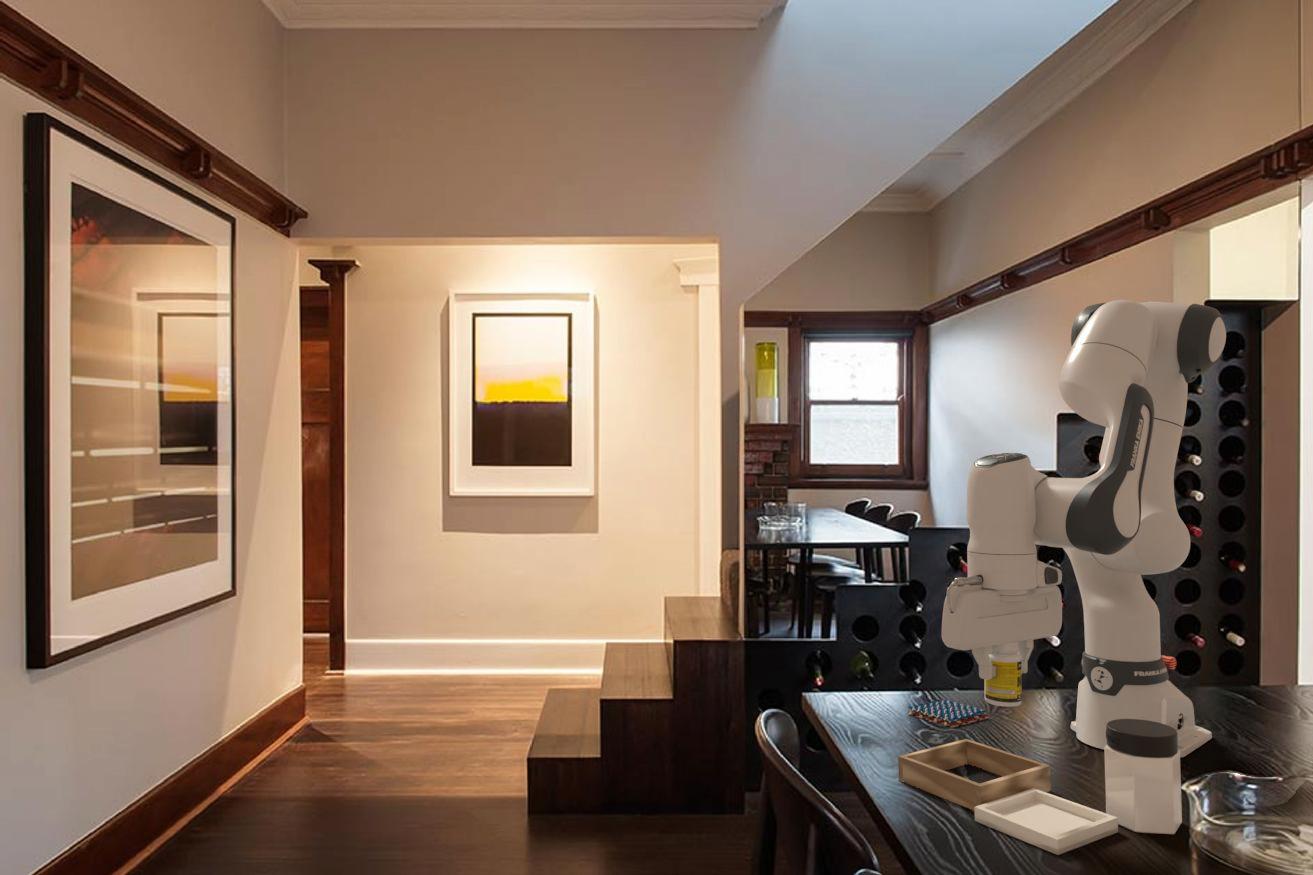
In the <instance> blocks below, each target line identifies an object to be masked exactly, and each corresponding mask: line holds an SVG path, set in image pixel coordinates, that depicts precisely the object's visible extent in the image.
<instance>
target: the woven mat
mask: <svg viewBox="0 0 1313 875" xmlns="http://www.w3.org/2000/svg"><path fill="white" fill-rule="evenodd" d="M908 709H910V710H908V712H907V714H908V715H909V716H911V717H912V716H913V717H914V716H915V717H916V718H919V719H921V720H923V719H924V720H925V721H928V722H930V723H932V722H933V723H935V724H939V725H943V726H945V727H949V728H956V727H960V726H965V725H968V724H971V723H976V722H979V721H983V720H987V719H989V714H987V710H985V709H982V708H978V707H974V706H973V705H971V706H970V705H968V704H962V703H960V702H956V701H953V700H951V701H950V700H949V699H944V700H943V699H941V698H940V699H937V701H936V700H932V701H931V702H928V701H927V702H925V704H924V703H920V704H919V705H918V704H915V705H914V707H913V706H908Z"/></svg>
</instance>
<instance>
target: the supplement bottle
mask: <svg viewBox="0 0 1313 875" xmlns="http://www.w3.org/2000/svg"><path fill="white" fill-rule="evenodd" d="M1018 650H1019V642H1012V643H1008V644H1002V645H996V646H992V654H989V657H990V660H991V662H992V665H995V666H997V672H996V673H997V677H996V678H995V679H990V680H985V679H983V680H984V685H983V686H984V688H983V689H984V693H983V694H984V697H983V698H984V701H985V702H986V703H988V704H990V705H992V706H998V707H1018V706H1020V705H1022V702H1023V699H1022V698H1023V697H1022V696H1023V695H1022V694H1023V693H1022V692H1023V691H1022V686H1023V683H1022V680H1023V679H1022V675H1023V674H1022V667H1021V665H1022V660H1021V657H1020V656H1019V655H1018V654H1017V652H1019V651H1018Z"/></svg>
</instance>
